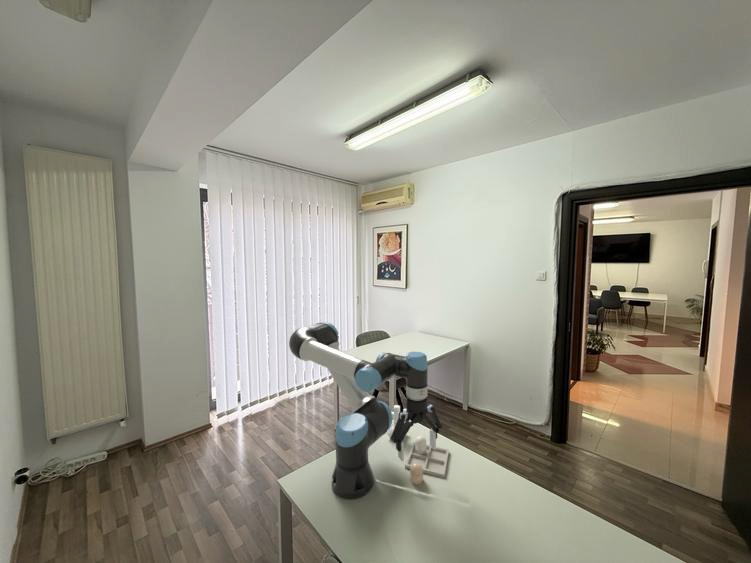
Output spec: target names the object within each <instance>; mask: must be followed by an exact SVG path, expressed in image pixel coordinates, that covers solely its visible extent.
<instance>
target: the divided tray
mask: <svg viewBox="0 0 751 563" xmlns="http://www.w3.org/2000/svg"><path fill="white" fill-rule="evenodd" d="M411 445H412V446H411V448H410V451H409V453H408V455H407V459H406V461H405V464H404V468H405V469H407V470H410V468H411V466H412V464H414V463H418V464H420V465H421V466H422V469H423V474H427V475H431V476H436V477H440V478H445V476H446V470H447V466H448V459H449V453H450V449H448V448H443V447H438V446H436V449H435V450H434V449H433V448H432V447H431V446H430V444H429V445H428V444H426V455H425V456H423V455H419V454H416V453H415V441H413V442H412V444H411Z"/></svg>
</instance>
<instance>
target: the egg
mask: <svg viewBox="0 0 751 563" xmlns="http://www.w3.org/2000/svg"><path fill="white" fill-rule="evenodd" d="M409 470H410V471H409V480H410V482H411V484H412V485H415V486H419V485H422V484H423V480H424V473H423V469H422V466H421V465H420V464H418V463H414V464H412V466H411V468H410V469H409Z"/></svg>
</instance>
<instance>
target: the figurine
mask: <svg viewBox="0 0 751 563" xmlns="http://www.w3.org/2000/svg"><path fill="white" fill-rule="evenodd" d="M402 410H403V411H402V413H406V411H407V408H403V409H402ZM399 412H401V405H398V404H395V405H393V411H391V413H392V420H393V423H392V425H391V427H390V428H389V429H388V430H387V432H386V435H387V436H388V437H389V438H390V439H391V436H392V433H393V431H394V428H395V426H396V423H397V421H398V417H399ZM406 418H407V417H406Z"/></svg>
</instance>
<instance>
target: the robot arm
mask: <svg viewBox="0 0 751 563" xmlns="http://www.w3.org/2000/svg"><path fill="white" fill-rule="evenodd" d="M339 339H340V338H339V331H338V329H337V327H336V326H335V325H334V324H333V323H331V322H329V321H327V322H326V321H325V322H324V321H323V322H317V323H315V324H311V325H308V326H304V327H303V326H302V327H300V328H298V329H296V330H294V332H292V334H291V335H290V338H289V341H288V342H289V344H288V345H289V350H290V352H291V354H292V355H293V356H295V357H296V358H298V359H299V360H301V361H304V362H309V361H311V362H313V363H315V364H317V365H320V366H321V367H324V368H326V369H327V370H328V371H329V373H330V375H331V376H332V378H333V380H334V381H335V383H336V384H337V387H338V388H339V389H340V391H341V393H342V394H343V396H344V397H345V399H346V400H347V403H348V404H349V405H350V407H351V413H350V414H349V413H348V414H345V415H343V417H341V418H340V419H339V420H338V421H337V423H336V426H335V434H334V436H335V437H334V438H335V440H334V441H335V466H334V469H333V472H332V475H331V489H332V491H333V492H334V494H336V495H337V496H338V497H340V498H343V499H347V500H348V499H349V500H352V499H359V498H361V497H363V496H366V494H368V493H369V492H370V491H371V489H372V488H373V484H374V474H373V470H372V467H371V464H370V462H369V448H370V447H372V445H374V444H375V443H376V442H377V441H378V440H379V439H380V438H382V437H383V436H384V435H385V434H387V431H388V430H389V428H390V427H391V425H392V424H393V419H392V413H391V412H392V411H391V408H390V407H389V405H388V404H387V403H386V402H385V401H382V400H378V399H377V397H375V396H374V395H370V393H369V392H371V391H372V390H375V389H377V388H378V387H380V386H381V385H382V384H384V383H385V382H388V381H389V380H390V379H392V378H393V377H398V378H403V379H405V381H406V382H405V385H406V388H405V390H406V392H405V395H406V399H405V400H406V401H405V402H406V409H407V411H406V413H403V411H400V412H399V417H398V421H397V423H396V426H395V428H394V431H393V433H392V436H391V438H390V440H392V442H393V443H394V444H395V445H396V446H395V449H396V451H397V454H398V455H397V457H398V458H399V459H400V460H401V462H404V461H405V452H404V451H405V449H404V448H405V442H404V441H403V440H404V439H405V437H406V435H407V434H408V433H409V430H411V427H413V426H414V424H418V423H422V422H423V420H424V422H426V423H427V425H428V426H429V427H431V428H430V429H429V445H430V446H431V447H432V448H433V449H434V450H435V449H436V447H437V439H438V433H439V432H440V429H442V428H443V425H442V423H441V422H440V419H439V417H438V416H437V413H436V409H435V406H434V405H433V404H431V403H429V402H428V368H429V366H428V356H427V355H426V354H425V353H424V352H421V351H410V352H407V353H406V355H405V356H404V355H400V354H396V353H395V354H393V353H390V352H381V353H379V354H378V356H376V358H375V361H374V362H370V361H368V360H365V359H361V358H359V357H357V356H354V355H352V354H349V353H347V352H345V351H342V350H340V348H339V346H340V342H339ZM428 412H429V414H430V416H431V418H432V420H433V422H432V421H431V420H430V419H429V418H428V416H427V414H428ZM406 417H407V418H406Z"/></svg>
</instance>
